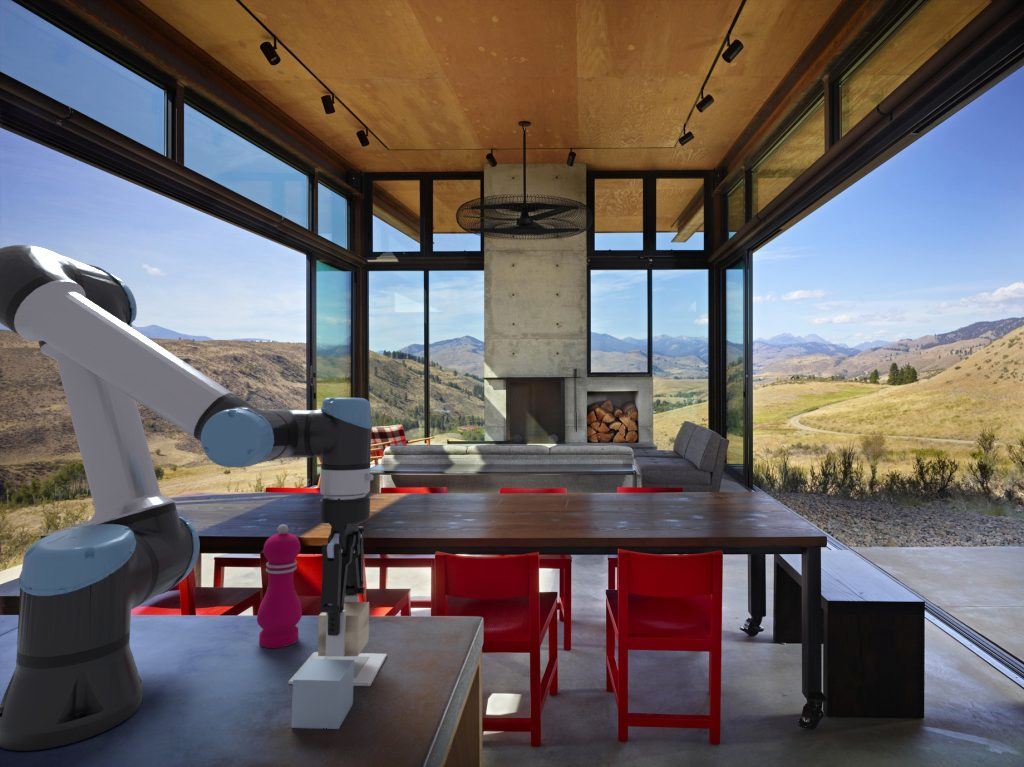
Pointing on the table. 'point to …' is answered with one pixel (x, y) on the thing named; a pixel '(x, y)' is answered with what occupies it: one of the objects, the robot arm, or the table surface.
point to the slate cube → (322, 694)
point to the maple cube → (349, 629)
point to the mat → (355, 666)
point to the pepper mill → (280, 592)
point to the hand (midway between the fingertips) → (342, 645)
